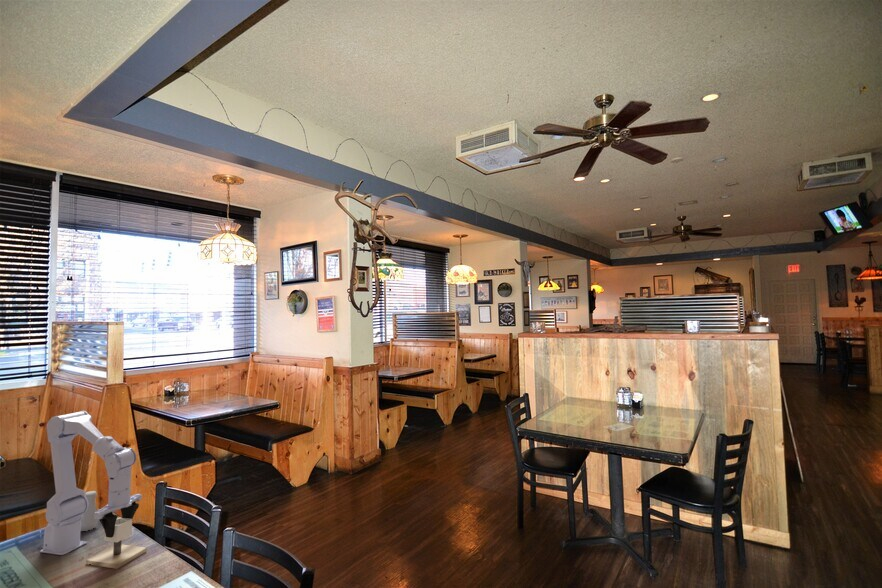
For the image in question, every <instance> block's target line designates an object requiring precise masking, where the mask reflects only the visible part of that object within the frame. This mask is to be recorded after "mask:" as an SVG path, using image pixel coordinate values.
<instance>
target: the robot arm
mask: <svg viewBox="0 0 882 588" xmlns="http://www.w3.org/2000/svg"><path fill="white" fill-rule="evenodd" d="M92 420H93V419H92V415H90V414H89V412H87V411H86V410H80V411H78V412H70V413H66V414H62V415H54V416H52V417H51V418H50V419H49V421H47V423H46V434H47V442H48V443H50V452H51V460H52V469H53V479H54V488H55V494H54V495H53V496H52V497H50V499H49V500H48V501H46V511H45V520H46V522H47V524H46V526H45V529H44V531H43V547H42V549H41V550H40V551H39V552H40V553H45V554H50V555H59V556H64V555H66V554H68V553H70V552H73V551H74V550H76V549H78V548H80V547H83V546H84V545H86V544H87V543H88V541H87V540H85V541H84V540H81V532H82V531H81V517H83V516H84V513H85V512H86V511H87V509H88V505H89V502H88V499H87V498H86V495H85V493H86V492H85V490H83V489H81V488H78V487H77V480H76V478H77V477H76V472H75V471H76V470H75V463H74V455H73V446H72V441H73V440H74V438H76V437H77V436H78V435H79V436H81V437H82V438H83V439H85V440H86V441H88V442H89V443H90V444H92V445H93V446H92V450H93V452H94V453H95V454H96V455H97V456H99V457H100V458H101V459H102V460H103V461H104V467H105V469H106V472H107V473H106V475H107V477H108V493H107V494H108V495H107V496H108V499H107V500H108V501H107V504H105V506H103V507H102V508H100V509H98V510H97V512H95V513H94V519H98V522H100V524H101V525H102V528H103V531H105V534H106V537H110V538H111V537H113V535H114V529H115V523H116V519H117V518H119V515H117V514H114V512H117V511H119V510H120V512H121V518H129V519H132V520H133V518H134V516H135V515H136V512H137V510H138V508H139V507H140V504H139V503H138V502H140V501H142V498H143V497H142V496H143V495H142V494H141V493H136V494H132V495H131V490H132V489H131V486H132V467H133V466H134V465H135V463H136V461H137V454H136V452H135V450H134V449H133V448H132V447H123V446H122V445H121V444H120V443H119V442H118V441H116V440H115V439H114V438H113V436H110V435H106V436H105V435H103V433H102V432H101V431H100V430H99V429H98V428H97V427H96V426H95V425H94V423H93V421H92Z"/></svg>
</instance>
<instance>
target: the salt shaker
mask: <svg viewBox="0 0 882 588" xmlns="http://www.w3.org/2000/svg"><path fill="white" fill-rule="evenodd" d="M85 495H86V498H87V499H88V502H89V505H88V509H87V511H86V512H85V513H84V516H83V517H81V532H82V531H86V532H89V531H88V530H90V531H92V530H94V529H95V528H96V527H97V525H98V523H99V520H98V519H94V513H95V512H97V511H98V510H97V503H96V498H97V497H98V492H97V491H96V490H90V491H86V492H85ZM93 528H94V529H93Z"/></svg>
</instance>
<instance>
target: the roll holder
mask: <svg viewBox="0 0 882 588" xmlns="http://www.w3.org/2000/svg"><path fill="white" fill-rule="evenodd" d="M122 541H123V540H121V541H119V542H113V545H111V546H110V547H107V548H106V549H104V550H102V551H101V552H99V553H97V554H95V555H93V556H91V557H89V558H87V559H86V560H85V564H86V565H89V564H91V566H96V567H97V566H98V567H104V568H109V569H110V568H111V569H116V570H117V569H120V568H121V567H123V566H125V565H127V564H128V563H130V562H131V561H133V560H134V559H136V558H138V557H140V556H141V555H143V554H145V553H147V549H148V548H147V547H144V546H138V545H137V546H136V545H130V544H123V543H122Z"/></svg>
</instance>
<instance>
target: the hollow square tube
mask: <svg viewBox="0 0 882 588" xmlns="http://www.w3.org/2000/svg"><path fill="white" fill-rule="evenodd" d="M132 530H133V519H129V518H122V516H121V517H119V516H118V517H117V519H116V523H115V529H114V535H113V537H111V538H110V537H106V534H105V531H104V530H103V531H104V537H103V541H104V542H111V543H114V542H119V541H121V540H122V541H123V540H125V539H126V538H129V537H130V536H132V534H133V533H132V532H133V531H132Z"/></svg>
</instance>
